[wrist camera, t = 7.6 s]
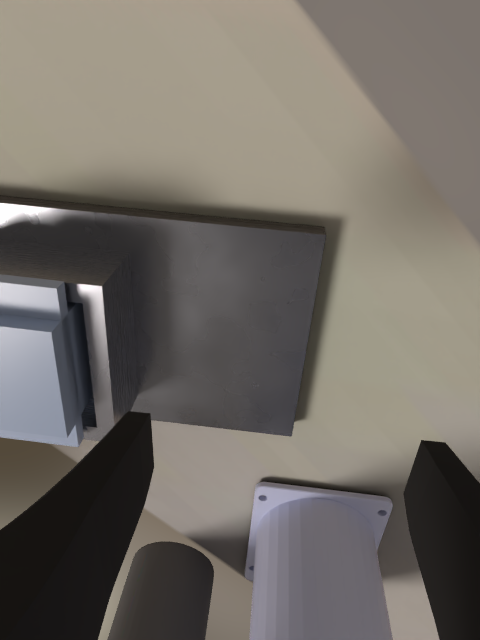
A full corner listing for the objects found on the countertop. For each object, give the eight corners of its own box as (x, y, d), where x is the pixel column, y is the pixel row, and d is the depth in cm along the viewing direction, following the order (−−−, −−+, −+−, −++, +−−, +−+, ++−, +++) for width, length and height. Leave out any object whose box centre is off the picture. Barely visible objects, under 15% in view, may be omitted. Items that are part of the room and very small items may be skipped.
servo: (111, 391, 23) (71, 466, 19) (35, 382, 24) (-21, 454, 19) (100, 246, 19) (46, 298, 15) (9, 236, 20) (-70, 286, 15)
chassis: (291, 423, 25) (291, 489, 21) (22, 391, 25) (-25, 450, 22) (324, 227, 19) (333, 268, 15) (-21, 193, 20) (-94, 225, 16)
